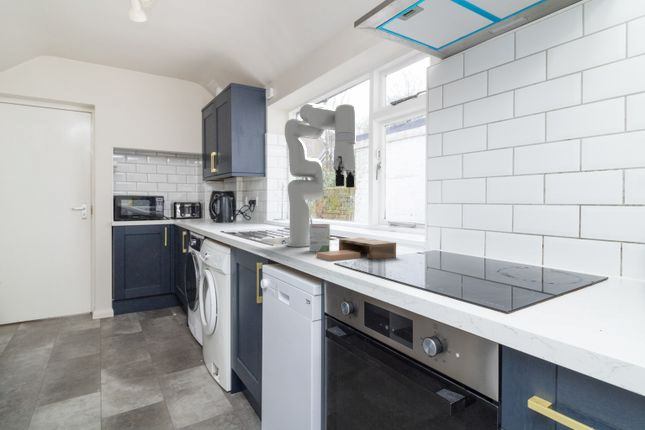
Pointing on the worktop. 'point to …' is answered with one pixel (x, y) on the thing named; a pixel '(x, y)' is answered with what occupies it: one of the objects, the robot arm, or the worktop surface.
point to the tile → (338, 255)
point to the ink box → (319, 237)
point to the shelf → (369, 247)
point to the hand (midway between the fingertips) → (345, 186)
